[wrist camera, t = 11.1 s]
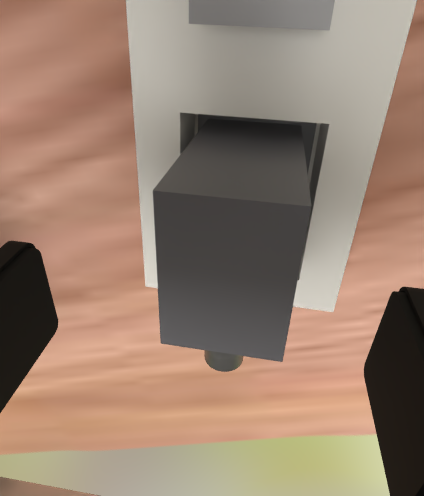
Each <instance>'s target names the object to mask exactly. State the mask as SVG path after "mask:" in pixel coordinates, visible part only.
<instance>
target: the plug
mask: <svg viewBox="0 0 424 496" xmlns="http://www.w3.org/2000/svg"><path fill="white" fill-rule="evenodd" d="M153 207H154V226H155V245H156V263H157V282H158V301H159V319H160V338H161V344H168V345H174V346H181V347H188V348H194V349H201V350H205V360H206V362H207V364H208V365H209V366H210V367H211V368H213V369H215V370H218V371H223V372H227V371H232V370H235V369H236V368H238V367H239V366H240V365H241V363H242V361H243V356H247V357H253V358H260V359H267V360H273V361H280V362H282V361H283V356H284V350H285V345H286V340H287V334H288V329H289V324H290V318H291V313H292V308H293V302H294V297H295V292H296V286H297V281H298V275H299V270H300V265H301V259H302V254H303V249H304V243H305V238H306V233H307V227H308V222H309V217H310V211H311V199H310V191H309V183H308V175H307V167H306V159H305V151H304V142H303V134H302V126H301V125H291V124H278V123H264V122H251V121H237V120H223V119H210V118H209V119H208V120H207V121H206V122H205V124H204V125H203V126H202V128H201V129H200V130H199V131H198V133H197V134H196V135H195V137H194V138H193V139H192V140H191V142H190V143H189V144H188V146H187V147H186V148H185V150H184V151H183V152H182V153H181V155H180V156H179V157H178V159H177V160H176V161H175V162H174V164H173V165H172V166H171V168H170V169H169V170H168V171H167V173H166V174H165V175H164V177H163V178H162V179H161V180H160V182H159V183H158V184H157V186H156V187H155V188H154V189H153Z"/></svg>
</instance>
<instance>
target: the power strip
mask: <svg viewBox="0 0 424 496" xmlns="http://www.w3.org/2000/svg"><path fill="white" fill-rule="evenodd" d="M416 2H417V0H126V11H127V25H128V40H129V54H130V68H131V83H132V97H133V112H134V126H135V141H136V155H137V170H138V184H139V199H140V213H141V227H142V242H143V256H144V271H145V285H146V287H153V288H158V282H157V263H156V245H155V226H154V207H153V189H154V188H155V187H156V186H157V184H158V183H159V182H160V180H161V179H162V178H163V177H164V175H165V174H166V173H167V171H168V170H169V169H170V168H171V166H172V165H173V164H174V162H175V161H176V160H177V159H178V157H179V156H180V155H181V153H182V152H183V151H184V150H185V148H186V147H187V146H188V144H189V143H190V142H191V140H192V139H193V138H194V137H195V135H196V134H197V133H198V131H199V130H200V129H201V128H202V126H203V125H204V124H205V122H206V121H207V120H208V119H209V118H210V119H223V120H237V121H251V122H264V123H278V124H291V125H301V126H302V134H303V142H304V151H305V159H306V167H307V175H308V183H309V191H310V199H311V211H310V217H309V222H308V227H307V233H306V238H305V243H304V249H303V254H302V259H301V265H300V270H299V275H298V281H297V286H296V292H295V297H294V302H293V307H299V308H307V309H314V310H321V311H329V312H333V311H334V308H335V304H336V300H337V297H338V293H339V289H340V285H341V282H342V278H343V274H344V270H345V267H346V263H347V259H348V256H349V252H350V248H351V244H352V241H353V237H354V233H355V229H356V226H357V222H358V218H359V215H360V211H361V207H362V203H363V200H364V196H365V192H366V189H367V185H368V181H369V177H370V174H371V170H372V166H373V162H374V159H375V155H376V151H377V148H378V144H379V140H380V136H381V133H382V129H383V125H384V121H385V118H386V114H387V110H388V107H389V103H390V99H391V95H392V92H393V88H394V84H395V81H396V77H397V73H398V69H399V66H400V62H401V58H402V54H403V51H404V47H405V43H406V40H407V36H408V32H409V28H410V25H411V21H412V17H413V13H414V10H415V6H416Z"/></svg>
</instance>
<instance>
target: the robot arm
mask: <svg viewBox="0 0 424 496" xmlns="http://www.w3.org/2000/svg"><path fill="white" fill-rule="evenodd" d="M57 327H58V318H57V314H56V310H55V306H54V303H53V299H52V295H51V291H50V287H49V283H48V279H47V275H46V271H45V268H44V264H43V260H42V256H41V253H40V251H39V250H38V249H36V248H35V246H34V245H33V244H31V243H26V242H18V241H9V242H7V243H6V244H4V245H3V246H2V247H1V248H0V413H1V411H2V410H3V408H4V407H5V406H6V404H7V403H8V401H9V400H10V398H11V397H12V395H13V394H14V392H15V391H16V389H17V388H18V387H19V385H20V384H21V382H22V381H23V379H24V378H25V376H26V375H27V373H28V372H29V371H30V369H31V368H32V366H33V365H34V363H35V362H36V360H37V359H38V357H39V356H40V355H41V353H42V352H43V350H44V349H45V347H46V346H47V344H48V343H49V341H50V340H51V338H52V337H53V336H54V334H55V332H56V330H57ZM364 378H365V383H366V387H367V392H368V396H369V401H370V405H371V410H372V415H373V419H374V424H375V428H376V433H377V437H378V442H379V446H380V451H381V456H382V460H383V465H384V469H385V474H386V478H387V483H388V487H389V492H390V496H424V289H419V288H411V287H402V288H401V289H400V290H399V292H395V291H394V292H392V294H391V296H390V298H389V301H388V304H387V306H386V309H385V312H384V314H383V317H382V319H381V322H380V325H379V327H378V330H377V333H376V335H375V338H374V341H373V343H372V346H371V349H370V351H369V354H368V357H367V359H366V362H365V366H364ZM0 496H99V495H94V494H88V493H83V492H77V491H72V490H67V489H62V488H57V487H51V486H46V485H41V484H36V483H30V482H25V481H19V480H14V479H9V478H3V477H0Z"/></svg>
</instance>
